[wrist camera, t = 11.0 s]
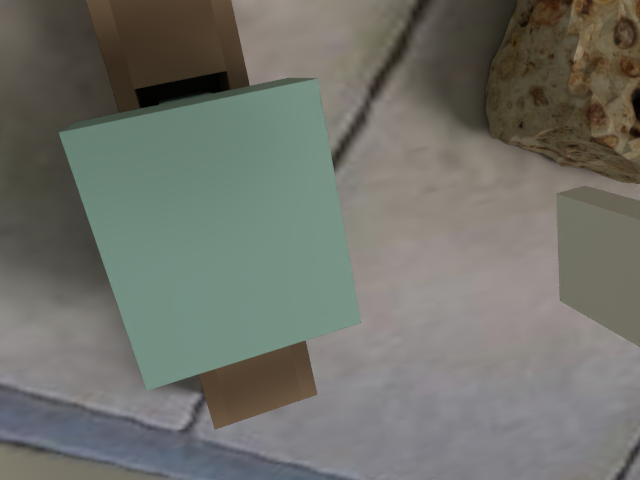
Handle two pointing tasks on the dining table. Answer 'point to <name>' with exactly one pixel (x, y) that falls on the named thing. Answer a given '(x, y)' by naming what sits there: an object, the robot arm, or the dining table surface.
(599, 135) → the rock
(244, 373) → the rail
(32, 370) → the dining table surface
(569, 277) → the robot arm
